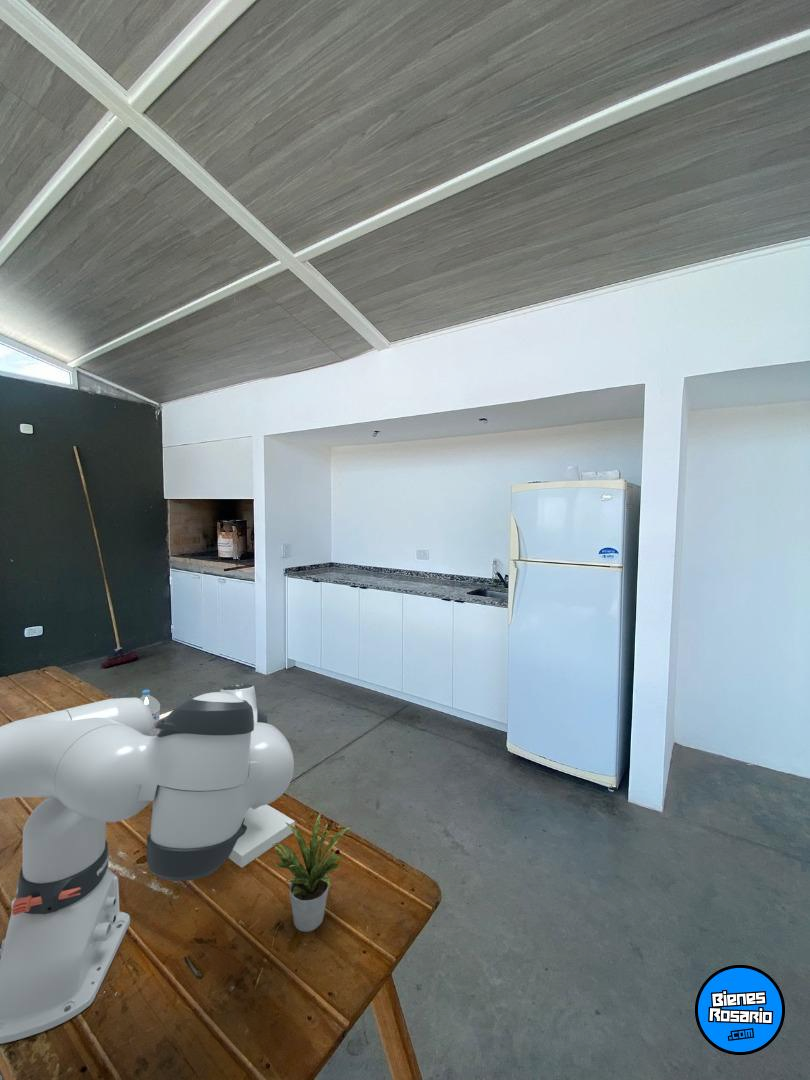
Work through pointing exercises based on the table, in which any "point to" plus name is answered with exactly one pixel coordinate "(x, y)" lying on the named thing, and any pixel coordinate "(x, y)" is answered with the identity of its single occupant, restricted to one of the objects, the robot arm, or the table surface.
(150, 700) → the water bottle
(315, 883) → the house plant
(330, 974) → the table surface
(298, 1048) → the table surface
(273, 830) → the white slab
